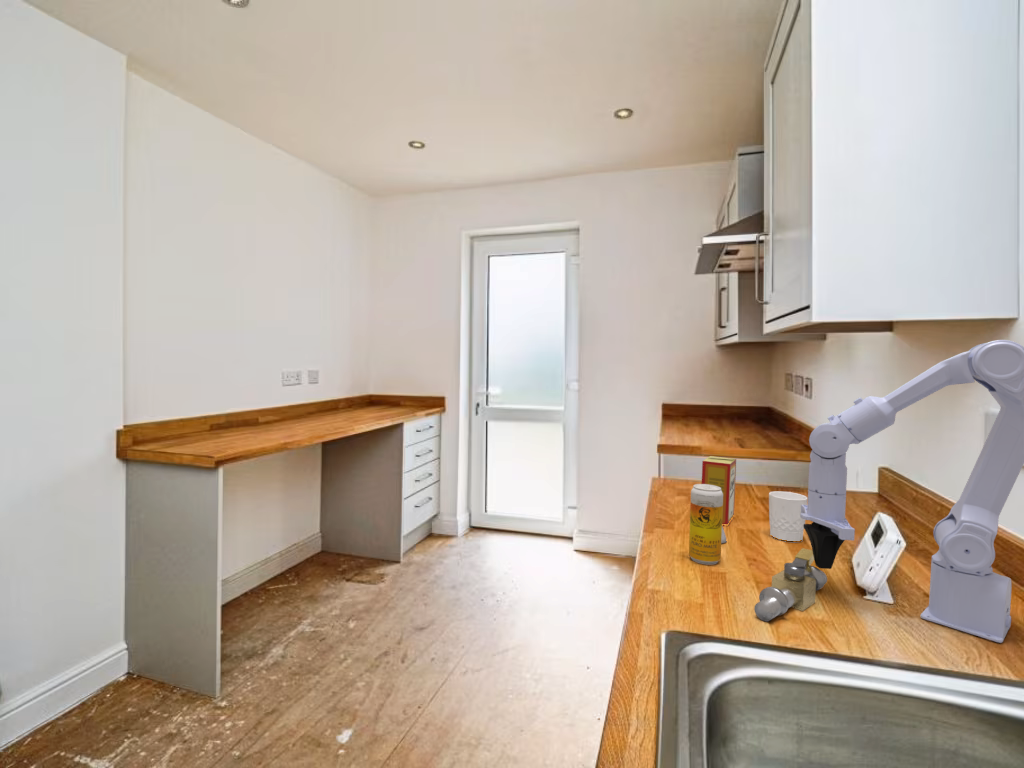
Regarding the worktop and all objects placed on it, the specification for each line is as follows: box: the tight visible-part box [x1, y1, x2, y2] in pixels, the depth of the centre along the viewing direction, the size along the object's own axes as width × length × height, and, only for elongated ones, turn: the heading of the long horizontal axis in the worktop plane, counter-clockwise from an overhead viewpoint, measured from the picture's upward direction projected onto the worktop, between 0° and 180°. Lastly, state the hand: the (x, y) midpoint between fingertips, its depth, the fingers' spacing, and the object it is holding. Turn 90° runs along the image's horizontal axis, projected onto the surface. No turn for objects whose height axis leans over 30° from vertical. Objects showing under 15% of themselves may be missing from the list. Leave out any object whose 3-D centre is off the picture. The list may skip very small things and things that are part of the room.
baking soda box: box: [701, 455, 737, 524], centre depth 132 cm, size 10×6×16 cm
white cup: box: [768, 490, 808, 541], centre depth 119 cm, size 8×8×10 cm
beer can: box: [688, 483, 723, 566], centre depth 104 cm, size 6×6×15 cm
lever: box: [783, 547, 815, 580], centre depth 90 cm, size 14×3×2 cm, turn 140°
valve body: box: [754, 565, 828, 622], centre depth 86 cm, size 5×22×4 cm, turn 130°
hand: (823, 567), depth 91 cm, fingers closed
